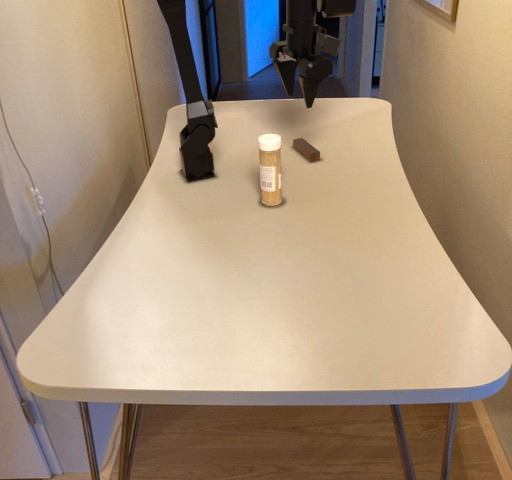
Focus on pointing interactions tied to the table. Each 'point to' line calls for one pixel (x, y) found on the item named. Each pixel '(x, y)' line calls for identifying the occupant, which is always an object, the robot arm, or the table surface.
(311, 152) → the walnut rail
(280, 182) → the spice jar
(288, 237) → the table surface
